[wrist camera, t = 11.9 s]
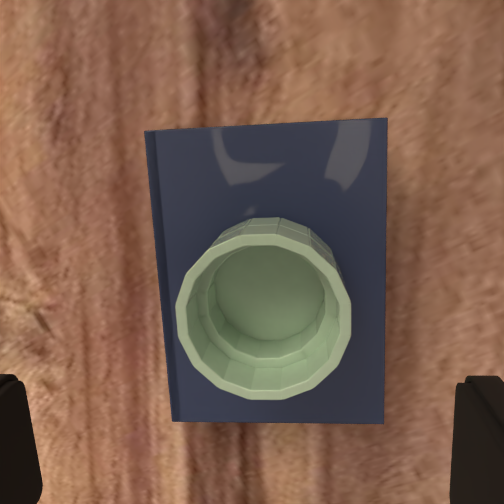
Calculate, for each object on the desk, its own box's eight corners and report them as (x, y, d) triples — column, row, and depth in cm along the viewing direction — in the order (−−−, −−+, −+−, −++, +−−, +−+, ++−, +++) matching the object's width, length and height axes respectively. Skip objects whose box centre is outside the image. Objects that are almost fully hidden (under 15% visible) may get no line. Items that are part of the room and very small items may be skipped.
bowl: (194, 218, 23) (168, 236, 19) (341, 213, 22) (351, 231, 18) (204, 352, 25) (183, 399, 20) (342, 352, 24) (351, 401, 19)
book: (163, 131, 25) (143, 130, 22) (376, 120, 24) (387, 117, 21) (185, 391, 29) (171, 421, 26) (374, 392, 28) (384, 424, 24)
